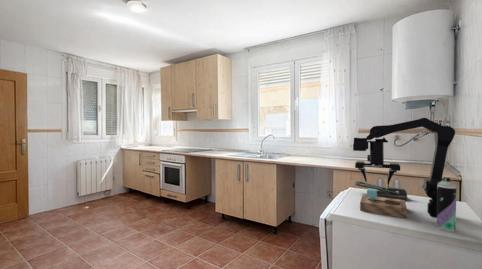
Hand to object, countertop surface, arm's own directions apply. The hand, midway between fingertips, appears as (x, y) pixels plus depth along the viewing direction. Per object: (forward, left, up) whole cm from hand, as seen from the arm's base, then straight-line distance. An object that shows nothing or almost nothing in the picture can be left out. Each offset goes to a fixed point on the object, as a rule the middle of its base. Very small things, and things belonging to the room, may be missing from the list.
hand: (376, 183), depth 113 cm
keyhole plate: (-2, +3, -12) cm, 12 cm away
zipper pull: (-1, -20, -12) cm, 23 cm away
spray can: (-23, +14, -12) cm, 30 cm away
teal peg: (+2, +3, -12) cm, 12 cm away
